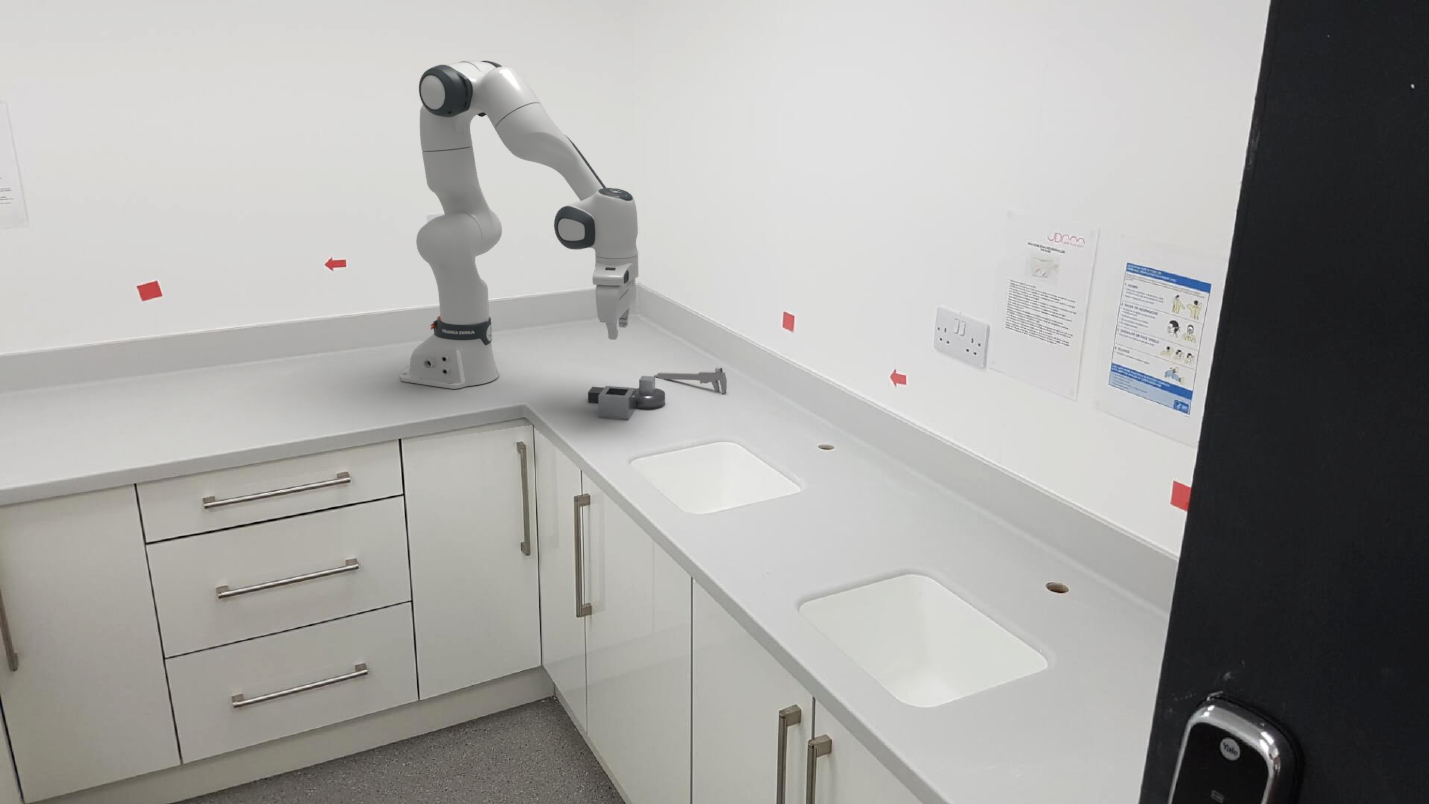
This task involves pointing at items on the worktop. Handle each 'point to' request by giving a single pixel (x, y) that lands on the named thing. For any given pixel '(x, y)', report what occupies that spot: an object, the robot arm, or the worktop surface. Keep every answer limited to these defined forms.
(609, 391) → the grey metal block
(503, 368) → the worktop surface
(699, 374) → the caliper
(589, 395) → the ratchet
